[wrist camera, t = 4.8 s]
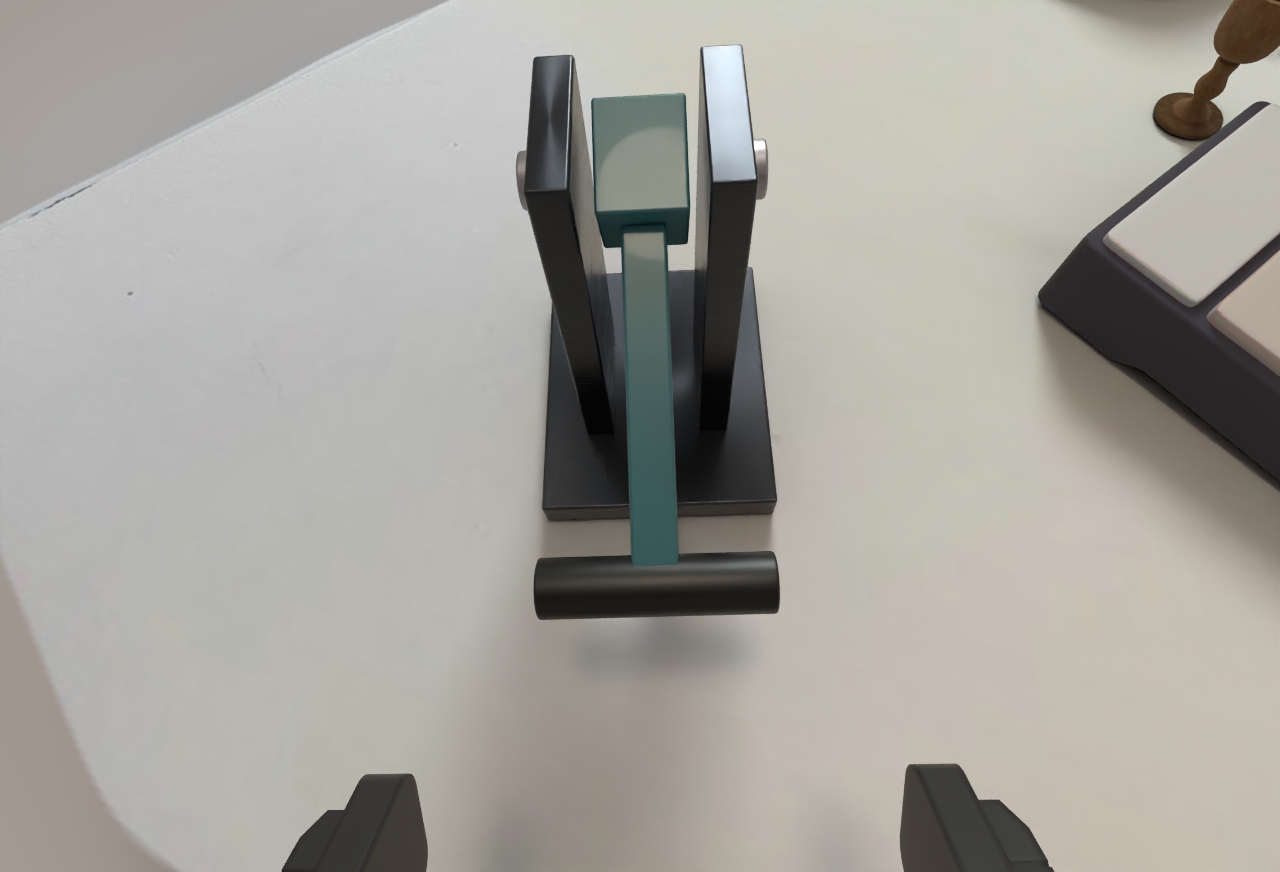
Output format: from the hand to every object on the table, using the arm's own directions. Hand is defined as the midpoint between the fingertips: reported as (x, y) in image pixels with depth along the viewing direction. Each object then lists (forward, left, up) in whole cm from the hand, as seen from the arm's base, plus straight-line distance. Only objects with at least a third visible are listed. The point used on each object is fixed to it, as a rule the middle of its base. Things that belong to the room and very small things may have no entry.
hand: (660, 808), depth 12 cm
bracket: (+12, +7, -11) cm, 18 cm away
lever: (+8, +5, -3) cm, 10 cm away
